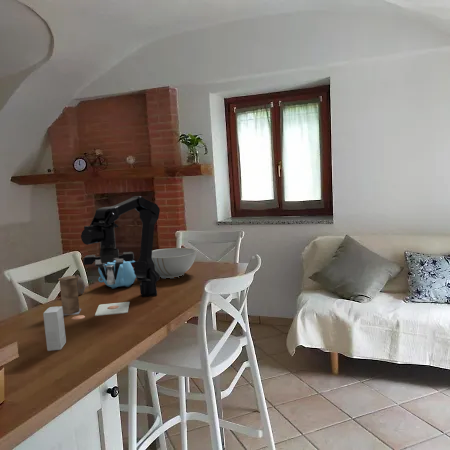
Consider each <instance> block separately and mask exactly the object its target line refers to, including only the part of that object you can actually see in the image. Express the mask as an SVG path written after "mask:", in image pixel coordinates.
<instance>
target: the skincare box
mask: <svg viewBox="0 0 450 450" xmlns="http://www.w3.org/2000/svg"><path fill="white" fill-rule="evenodd" d="M42 314H43V326H44V332H45V341H46V350H47V352H51V351H60V350H62V349H63V347H64V346H65V344H66V343H67V337H66V329H65V328H66V327H65V320H64V316H63V308H62V305H61V306H50V307H48V308H47V309H46V310H45V311H44V312H43V313H42Z"/></svg>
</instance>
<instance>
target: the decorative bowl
mask: <svg viewBox="0 0 450 450" xmlns="http://www.w3.org/2000/svg"><path fill="white" fill-rule="evenodd" d="M197 251H198V250H197V249H195V248H189V247H172V248H171V247H170V248H160V249H154V250H153V249H152V260H153V262H154V264H155V271H156V272H157V273H158V274H159V275H160V277H161V279H166V278H170V279H175V278H174V277H178V278H180V277H179V276H182V275H183V276H184V275H185V273H187V272H188V271H189V270H190V268H191V267H192V266H193V264H194V262H195V260H196V257H197ZM183 276H182V277H183Z"/></svg>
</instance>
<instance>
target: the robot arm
mask: <svg viewBox="0 0 450 450" xmlns="http://www.w3.org/2000/svg"><path fill="white" fill-rule="evenodd" d="M134 209H135V211H137V213H139V219H140V221H141V223H142V228H141V238H140V239H141V241H140V249H139V250H140V251H139V258H138V259H137V260H134V259H135V253H134V252H133V251H123V253H122V254H120V251H119V248H117V245H116V233H115V229H116V228H119V225H118V224H117V223H116V221H117V220H118V219H120V217H121V215H123V214H125V213H128V212H129V211H132V210H134ZM160 209H161V208H160V207H159V205H158V204H157V203H154V202H152V201H150V200H148V199H146V198H144V197H143V196H140V195H137V196H136V195H135V196H132V197H130V198H128V199H126V200H124V201H121V202H119V203H117V204H114V205H112V206H105V207H104V206H103V207H100V208H99V207H98V208H97V209H96V210H95V214H94V215H93V218H92V220H91V222H90V225H85V226H84V227H83V230H82V232H81V235H80V238H81V241H82V243H83V244H84V245H87V246H88V245H93V244H98V243H99V245H100V246H99V247H100V251H99V256H96V254H88V255H85V256H84V257H83V259H82V260H83V261H82V262H83V263H82V264H83V265H84V266H88V265H93V264H94V263H95V264H94V265H95V267H98V268H100V270H101V272H102V274H103V276H104V278H105V280H106V281H107V277H106V269H105V267H106V266H105V264H106V263H107V262H110V263H111V262H114V260H116V262H115V280H116V278H117V274H118V269H119V266H120V264H123V262H124V261H125V262H127V261H129V262H130V261H135V262H134V263H133V269H134V274H135V275H136V280H137V281H138V282H140V284H139V291H140V293H139V294H140V295H141V297H142V298H143V297H156V296H158V290H157V282H158V281H160V275H159V274H158V273H157V272H156V271H155V264H154V262H153V260H152V251H153V245H154V234H155V233H154V231H155V225H156V223H157V221H158V220H159V218H160V211H161V210H160Z"/></svg>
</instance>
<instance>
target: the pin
mask: <svg viewBox="0 0 450 450" xmlns="http://www.w3.org/2000/svg"><path fill="white" fill-rule="evenodd" d="M105 267H106V277H107V285H113V284H115V271H114V265H109V266H105ZM107 285H106V286H107Z"/></svg>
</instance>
